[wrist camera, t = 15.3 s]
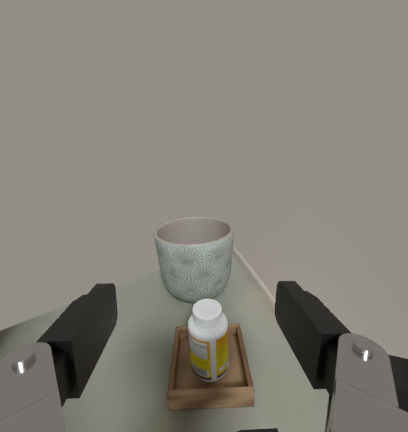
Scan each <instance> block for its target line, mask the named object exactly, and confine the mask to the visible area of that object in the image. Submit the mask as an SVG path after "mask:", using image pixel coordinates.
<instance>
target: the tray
mask: <svg viewBox="0 0 408 432" xmlns="http://www.w3.org/2000/svg"><path fill="white" fill-rule="evenodd" d="M228 353H229V365H228V369H227V372H226V373H225V375H224V376H223V377H222V378H220V379H219V380H217V381H213V382H206V381H203V380H201V379H199V378H198V377H197V376H196V375H195V374H194V372H193V370H192V366H191V357H190V346H189V335H188V326H182V327H176V335H175V342H174V349H173V357H172V364H171V371H170V379H169V386H168V393H167V398H168V406H169V410H186V409H207V408H229V407H251V406H254V392H255V391H254V387H253V383H252V378H251V374H250V369H249V365H248V360H247V356H246V351H245V347H244V342H243V338H242V333H241V329H240V324H228Z"/></svg>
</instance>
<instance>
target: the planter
mask: <svg viewBox="0 0 408 432" xmlns="http://www.w3.org/2000/svg"><path fill="white" fill-rule="evenodd" d="M233 234H234V228H233V226H232V225H231V224H230V223H228V222H227V221H224V220H221V219H217V218H212V217H187V218H180V219H176V220H172V221H169V222H166V223H164V224H162V225H160V226H159V227H157V228H156V229H155V231H154V240H155V244H156V250H157V255H158V260H159V264H160V270H161V274H162V279H163V281H164V284H165V286H166V287H167V289H168V290H169V292H170V293H171V294H172V295H174V296H175V297H177V298H178V299H180V300H183V301H186V302H192V303H196V302H197V301H199V300H202V299H213V298H214V297H216V296H217V295H219V294H220V293H221V292H222V291H223V290H224V288H225V287H226V285H227V283H228V280H229V277H230V272H231V261H232V248H233Z"/></svg>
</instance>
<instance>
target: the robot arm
mask: <svg viewBox="0 0 408 432" xmlns="http://www.w3.org/2000/svg"><path fill="white" fill-rule="evenodd" d="M275 316H276V320H277V323H278V325H279V326H280V328H281V330H282V332H283V334H284V336H285V337H286V339H287V341H288V343H289V345H290V347H291V348H292V350H293V352H294V354H295V356H296V358H297V359H298V361H299V363H300V365H301V367H302V368H303V370H304V372H305V374H306V376H307V378H308V379H309V381H310V383H311V385H312V387H313V389H326V390H327V391H328V393H329V398H328V406H327V415H326V424H325V432H408V359H405V358H400V357H395V356H391V355H388V354H387V353H386V351H385V350H384V349H383V348H382V347H381V346H379V345H378V344H377V343H375V342H374V341H372V340H370V339H368V338H366V337H364V336H361V335H357V334H352V333H351V332H350V331H349V330H348V329H347V328H346V327H345V326H344V325H343V324H342V323H341V322H340V321H339V320H338V319H337V318H336V317H335V316H334V315H333V314H332V313H330V310H329V309H328V308H327V307H326V306H324V304H323V303H322V302H321V301H320V300H319V299H318V298H317V297H315V296H314V295H312V294H311V293H309V292H307V291H303V289H302V288H301V287H300V286H299V285H298V284H297V283H296V282H295V281H279V282H278V284H277V291H276V302H275ZM116 321H117V302H116V290H115V285H114V284H113V283H111V284H96V285H95V286H94V287H93V288H92V290H91V291H90V292H89V293H88V294H87V295H82V296H81V297H79V298H78V299H77V300H75V301H73V302H72V303H71V304H70V305H69V306H68V308H67V309H66V310H65V311H64V312H63V313H62V314H61V315H60V316H59V318H58V319H57V320H56V321H55V322H54V323H53V324H52V325H51V326H50V327H49V329H48V330H47V331H46V332H45V333H44V334H43V335H42V336H41V337H40V339H39V340H38V341H37V342H36V343H31V344H28V345H25V346H22V347H20V348H18V349H16V350H14V351H12V352H11V353H9V354H8V355H6V356H5V357H4V358H3V359H2V360H1V361H0V432H66V429H65V423H64V418H63V412H62V406H63V405H64V403H65V401H66V399H69V398H80V396H81V394H82V392H83V390H84V388H85V386H86V384H87V382H88V380H89V378H90V376H91V374H92V372H93V370H94V368H95V366H96V364H97V362H98V360H99V358H100V356H101V354H102V352H103V350H104V347H105V345H106V343H107V341H108V339H109V337H110V335H111V333H112V331H113V329H114V327H115V325H116ZM238 432H278V429H277V428H275V429H256V430H240V431H238Z"/></svg>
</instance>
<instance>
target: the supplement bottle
mask: <svg viewBox="0 0 408 432" xmlns="http://www.w3.org/2000/svg"><path fill="white" fill-rule="evenodd" d="M188 335H189V346H190V357H191V366H192V370H193V372H194V374H195V375H196V376H197V377H198V378H199V379H201V380H203V381H206V382H213V381H217V380H219V379H220V378H222V377H223V376H224V375H225V373H226V372H227V369H228V365H229V353H228V321H227V318H226V316H225V315H224V313H223V312H222V307H221V305H220V303H219V302H217V301H216V300H213V299H202V300H199V301H197V302H196V303H195V304H194V306H193V314H192V315H191V316H190V318H189V320H188Z"/></svg>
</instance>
